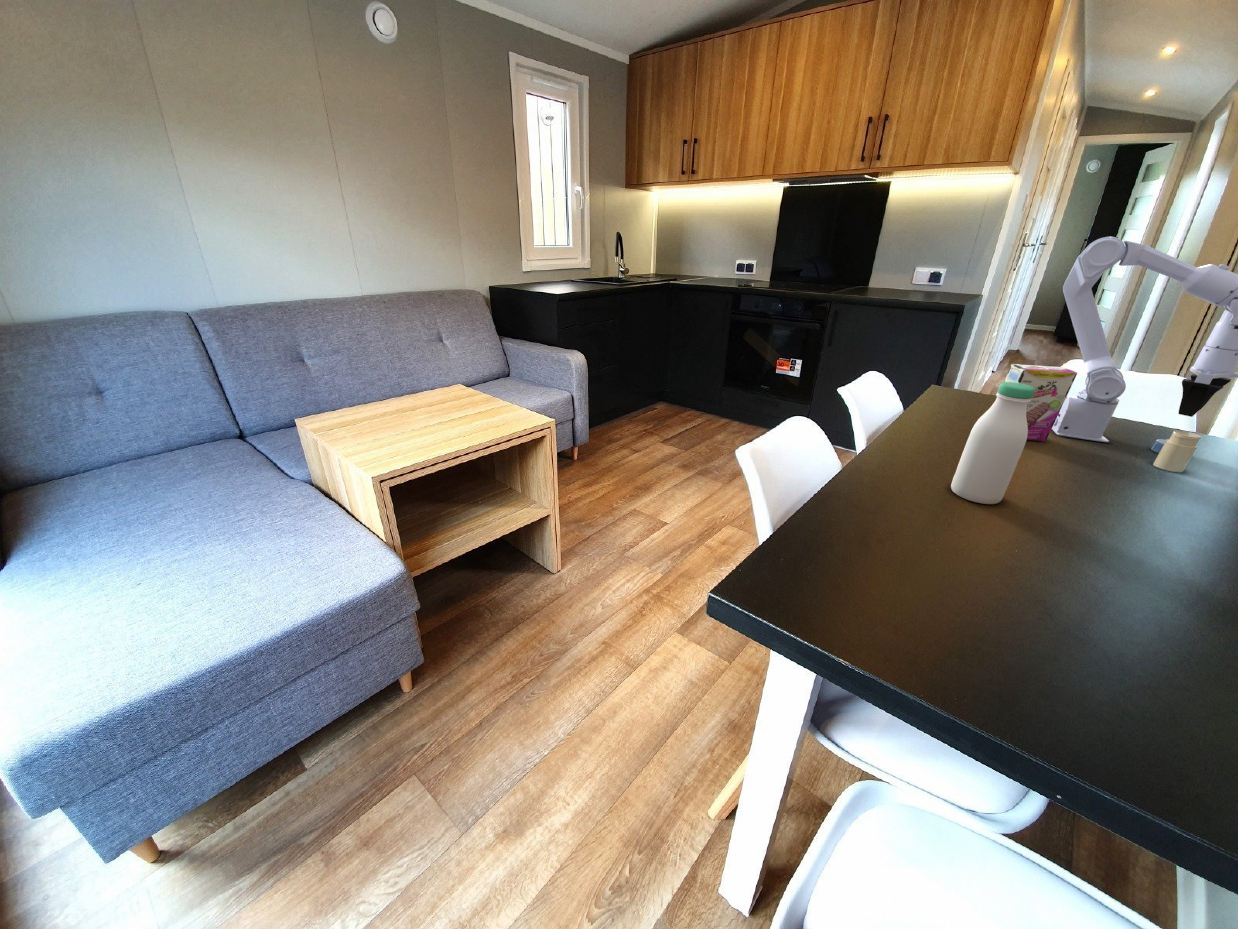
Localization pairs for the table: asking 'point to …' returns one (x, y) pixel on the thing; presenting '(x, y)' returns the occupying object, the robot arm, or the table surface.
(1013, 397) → the milk bottle
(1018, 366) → the candy bar box
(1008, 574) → the table surface
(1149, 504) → the table surface
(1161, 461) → the jam jar
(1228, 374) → the robot arm
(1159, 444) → the jam lid
